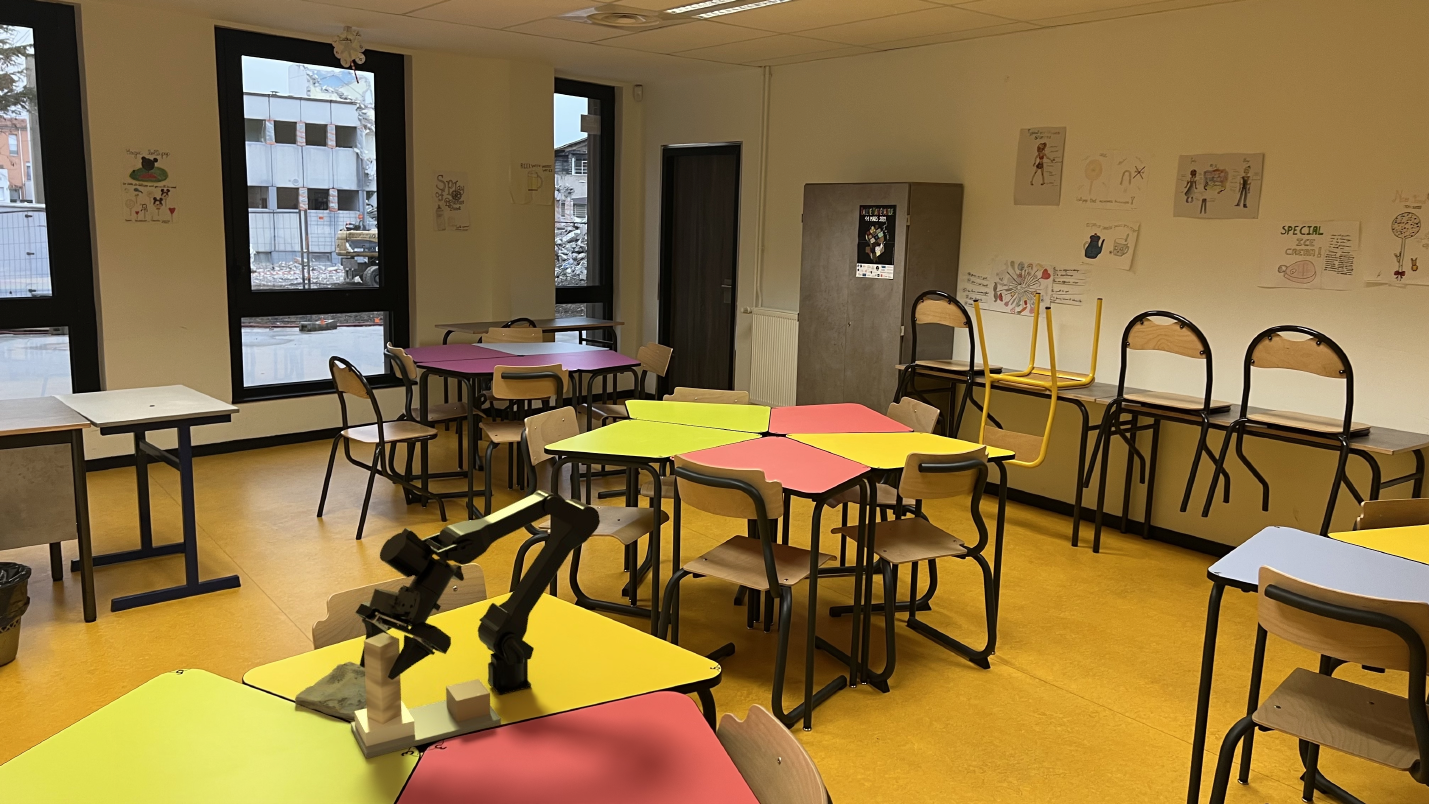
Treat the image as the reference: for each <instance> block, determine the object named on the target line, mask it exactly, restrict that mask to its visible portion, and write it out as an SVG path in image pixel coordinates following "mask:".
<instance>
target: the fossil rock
mask: <svg viewBox="0 0 1429 804" xmlns="http://www.w3.org/2000/svg"><path fill="white" fill-rule="evenodd" d="M294 701H295V703H294V704H295V705H298V706H302V707H305V708H307V709H310V710H316V711H319V712H322V713H324V714H326V715H328V716H335V717H338V718H343V719H350V720H354V721H355V711H358V710H362V709H367V706H366V681H365V668H363V667H361V666H360V663H359V664H358V663H356V662H352V661H347V662H344V663H339V664H337V665H336V667H334V668H333V669H332V670H331V672H329V673H328V674H326V675H325V676H323V677H321V679H319V680H318V681H316V682H315V683H314V684H313V685H310V686H308V687H305V688H304V689H303V690H302V691H300V692H299V693H298V694H296V696H295V697H294Z"/></svg>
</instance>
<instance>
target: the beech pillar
mask: <svg viewBox="0 0 1429 804" xmlns="http://www.w3.org/2000/svg"><path fill="white" fill-rule="evenodd" d="M389 634H390V633H389ZM389 634H386V633H381V634H379V635H376V636H374V637H371V638H369V639H367V640H363V648H364V657H365V681H366V706H367V718H370V719H372V720H374V721H376V722H378V723H381V724H384V723H386V722H388V721H390V720H392V719H394V718H396V717H398V716H400V715H402V710H401V700H402V688H401V687H402V686H401V685H402V684H401V682H402V681H401V674H400V675H399V676H398V677H396V678H395V679H393V680H391V679H389V678H388V675H389V673H390V670H391V668H392V666H393V665H394V663H395V661H396V659H397V657H398V656H399V654H400V652H401V650H400V638H399V637H397V636H394V635H391V634H390V635H389Z"/></svg>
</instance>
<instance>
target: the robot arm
mask: <svg viewBox="0 0 1429 804" xmlns="http://www.w3.org/2000/svg"><path fill="white" fill-rule="evenodd" d="M549 515H550V516H552V517H554V518H553V519H552V524H551V530H550V536H549V538H548V539H547V541H546V542H545V543H544V545H543V547H542V548H541V550H540V551H539V553H538V554H537V556H535V558H534V560H533V562H532V563H530V566H529V567H528V569H527V571H526V572H525V573H524V574H523V577H522V578H521V579H520V581H519V583H518V584H517V585H516V586H515V588H514V590H513V591H512V593H511V594H510V595H509V597H508V599H506V601H504V602H502V603H501V604H500V603H499V605H498V604H496V603H494V602H492V603H491V604H490V605H489V607H488V609H487V610H486V612H485V614H484V615H483V616H481V618H479V622H480V624H479V626H478V627H477V635H478V638H479V641H480V642H481V643H482V644H484V645H485V646H486V649H487V650H489V651H491V652H492V653H490V662H488V663H487V669H488V671H487V673H488V674H487V675H488V677H487V682H488V683H489V685H490V686H491V687H492V688H493V689H494V691H495V692H496V693H497V694H498V695H504V694H507V693H512V692H516V691H519V690H523V689H529V688H531V687H532V683H531V682H530V681H529V675H528V674H529V672H528V670H529V666H528V664H529V663H528V661H529V660H531V659H532V656H533V653H534V647H533V646H532V645H530V644H529V643H528V642H526V640H523V639H524V638H525V635H526V633H527V631H528V623H529V617H530V614H531V612H532V611H533V609H534V608H535V606H536V605H537V603H538V601H539V600H540V599H541V597H542V596H543V594H544V593H545V591H546V589H548V587H549V585H550V583H551V582H552V581H553V579H554V577H555V576H556V575H557V573H558V571H559V570H560V569H561V567H562V566H563V564H564V563H565V561H566V559H567V558H568V557H569V555H570V554H571V552H572V551H573V550H575V549H576V548H578V547H579V546H581V545H583V544H585V543H586V542H587V541H588V540H589V539H590V537H591V536H592V535H594V533H595V532H596V531H597V530H598V528H599V526H600V523H601V520H600V513H599V511H598V510H597V509H596V508H595V507H594V506H591V505H589V504H588V503H587V504H586V503H585V502H582V501H581V500H578V499H576V498H575V499H574V498H571V499H566V500H564V499H563V498H560V497H558V496H557V494H554V493H552V492H550V491H548V490H546V489H539V490H536V491H535V492H533V494H531V495H529V496H527V497H525V498H523V499H521V500H519V501H516V502H513V503H512V504H510V505H508V506H506V507H504V508H502V509H500V510H497V511H495V512H494V513H491V514H490V515H487V516H485V517H483V518H479V519H473V520H464V521H459V522H456V523H454V524H453V523H452V524H449V525H447V526H445V527H443V528H442V529H441V530H440V531H439V532H438V533H435V534H432V535H429V536H426V537H424V538H422V539H421V538H420V537H419V536H418V535H417V534H416V533H415V532H414V531H412V530H411V529H409V528H408V527H405V528H404V529H403V530H402V531H401V532H398V533H396V534H394V535H392V536H391V537H390V538H388V539H386V541H385V542H384V544H383V545H382V547H381V550H380V553H379V559H380V561H382V562H383V563H384V564H386V565H387V566H389V567H390V568H392V569H393V570H395V571H396V572H398V573H399V574H401V575H402V576H403V577H405V578H412V577H413V579H412V580H411V582H410V583H409V585H408V586H407V585H404V584H403V585H401V587H400V588H399V590H398V591H393V590H388V589H382V588H381V589H380V588H374V591H373V594H372V596H371V600H370V601H369V600H367V601H364V602H361V603H360V604H359V606H358V608H357V609H356V611H355V613H354V614H355V615H356V616H358V617H359V618H361V622H362V623H363V625H364V628H365V633H366V634H365V640H367V639H369V638H371V637H374V636H376V635H379V634H381V633H386V634H389V635H391V634H390V633H388V632H389V630H391V629H394V630H396V631H398V632H401V633H404V635H403V647H402V649H401V650H400V654H399V656H398V657H397V659H396V661H395V663H394V665H393V666H392V668H391V670H390V673H389V675H388V678H389V679H391V680H393V679H395V678H396V677H398V676H399V675H400V676H401V675H402V674H403V673H404V672H406V671H407V670H408V669H410V668H411V667H412V666H414V665H416V664H418V663H419V662H420V661H422V660H423V659H425V658H427V657H429V656H430V655H432V656H434V655H435V653H436V652H438V653H441V654H442V655H443V654H444V655H446V654H447V652H448V651H449V649H450V647H451V645H452V637H451V636H449V635H448V634H447V633H446V632H445V631H443V630H442V629H441V628H439V627H438V626H436V625H433V624H430V623H428V622H427V621H428V620H429V618H430V615H431V614H432V612H433V611H437V612H439V610H440V609H441V607H442V606H441V605H440V604H439V601H440V599H441V597H442V595H443V594H444V592H445V591H446V589H447V587H448V585H449V584H450V582H451V581H452V580H455V581H460V582H463V581H464V580H465V577H464V573H463V571H462V566H464V565H467V564H470V563H472V562H474V561H476V560H477V559H478V558H479V557H481V556H482V555H484V554H485V553H486V552H487V551H488V549H489V548H490V547H491V546H492V544H493V543H495V542H497V541H499V540H500V539H502V538H504V537H506V536H508V535H510V534H512V533H514V532H516V531H518V530H520V529H523V528H524V527H527V526H528V525H530V524H532V523H535V522H537V521H538V520H541V519H543V518H545V517H547V516H549ZM434 556H436V557H437V558H435V557H434ZM450 562H454V564H451V563H450ZM406 634H407V635H406ZM435 651H436V652H435ZM359 665H360V666H361V667H363V668H365V657H364V647H363V649H362V652H361V657H360V661H359Z"/></svg>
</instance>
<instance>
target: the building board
mask: <svg viewBox="0 0 1429 804" xmlns="http://www.w3.org/2000/svg"><path fill="white" fill-rule="evenodd" d="M445 696H446V699H445V700H439V701H436V702H433V703H432V702H431V703H428V704H424V705H423V704H422V705H420V706H415V707H410V708H407V707H406V705H405V703H404V702H403V701H402V699H401V710H402V715H400V716H398V717H396V718H394V719H392V720H390V721H388V722H386V723H384V724H381V723H378V722H376V721H374V720H372V719H370V718H367V709H362V710H358V711H355V720H354V721H352V722H350V729H351V732H352V733H353V735H354V737H355V738H356V741H357V743H358V744H359V747H360V749H361V751H362V753H363V754H364V757H365V759H370V758H375V757H378V756H382V755H385V754H389V753H394V752H397V751H401V750H404V749H408V748H412V747H416V746H420V745H424V744H427V743H432V742H437V741H440V740H443V739H444V740H445V739H447V738H451V737H454V736H455V737H456V736H459V735H463V734H467V733H470V732H475V731H478V730H482V729H485V728H486V729H487V728H490V727H493V726H497V725H501V722H502V720H501V719H502V718H501V717H500V716H499V715H498V713H497V712H496V710H495V709H494V708H493V706H492V705H491V692H490V691H489V690H488V687H486V686H485V685H484V683H483V682H482V681H481V679H479V678H477V679H472V680H467V681H463V682H459V683H454V684H450V685H446V686H445Z"/></svg>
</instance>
